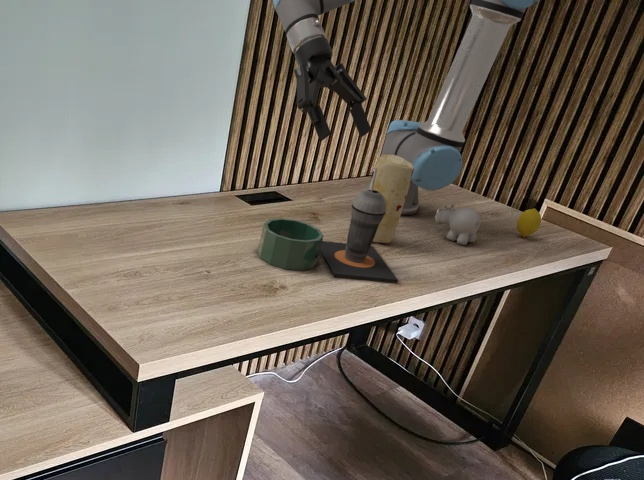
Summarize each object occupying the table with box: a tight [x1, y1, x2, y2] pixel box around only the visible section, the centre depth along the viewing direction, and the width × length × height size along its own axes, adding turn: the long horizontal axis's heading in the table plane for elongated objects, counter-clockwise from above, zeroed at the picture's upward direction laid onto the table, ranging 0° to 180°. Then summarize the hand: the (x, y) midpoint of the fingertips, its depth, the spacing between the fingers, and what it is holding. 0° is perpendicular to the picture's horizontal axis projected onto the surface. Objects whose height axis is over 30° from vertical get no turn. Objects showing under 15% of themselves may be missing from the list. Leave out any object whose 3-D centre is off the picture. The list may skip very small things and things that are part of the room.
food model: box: [369, 155, 414, 244], centre depth 163 cm, size 10×7×20 cm
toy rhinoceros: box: [434, 204, 482, 246], centre depth 174 cm, size 7×12×8 cm, turn 35°
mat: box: [319, 240, 399, 284], centre depth 153 cm, size 18×14×1 cm
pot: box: [257, 217, 325, 271], centre depth 149 cm, size 13×13×6 cm
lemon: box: [515, 208, 542, 238], centre depth 182 cm, size 6×6×8 cm
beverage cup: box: [344, 167, 386, 263], centre depth 147 cm, size 7×7×20 cm
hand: (346, 135), depth 147 cm, fingers open, 13 cm apart
